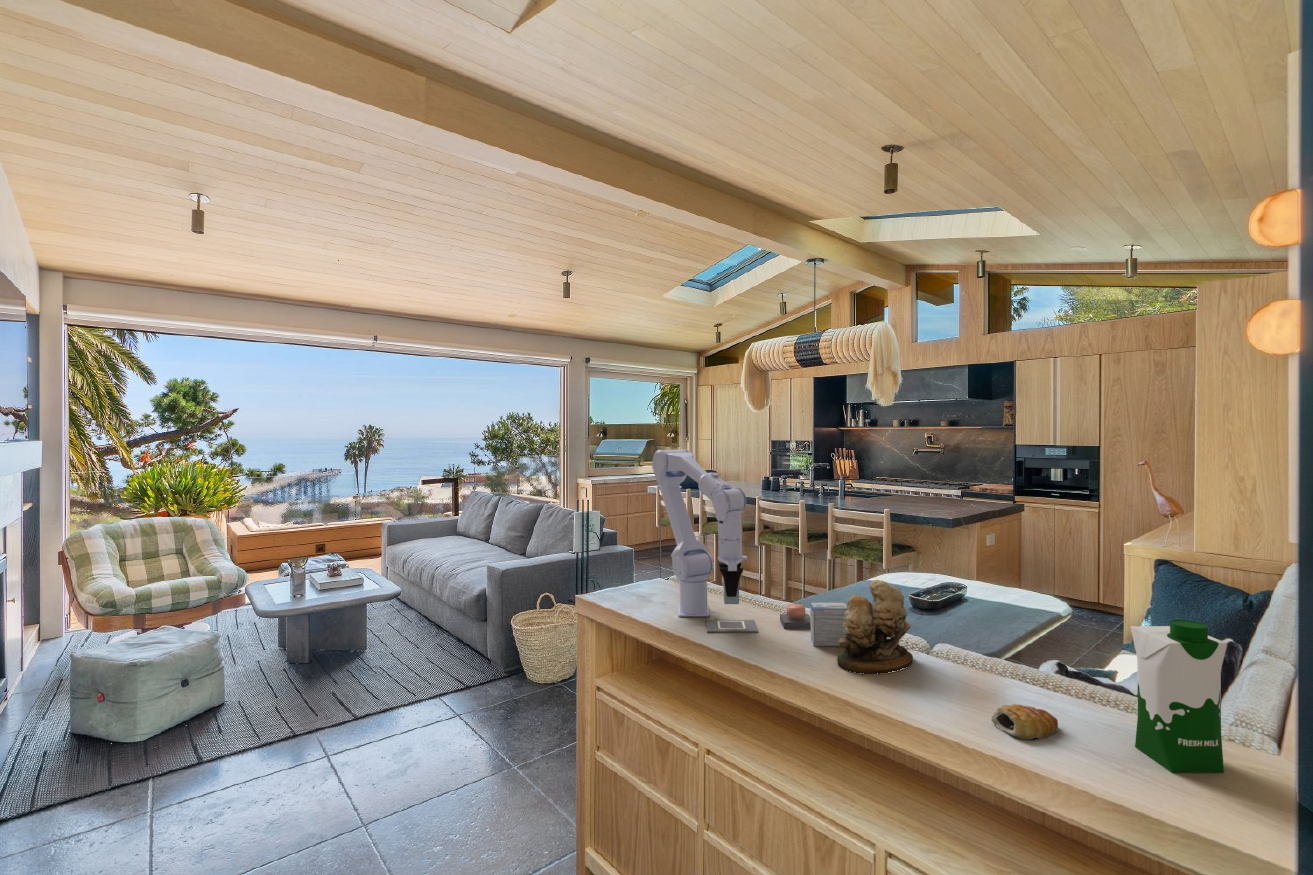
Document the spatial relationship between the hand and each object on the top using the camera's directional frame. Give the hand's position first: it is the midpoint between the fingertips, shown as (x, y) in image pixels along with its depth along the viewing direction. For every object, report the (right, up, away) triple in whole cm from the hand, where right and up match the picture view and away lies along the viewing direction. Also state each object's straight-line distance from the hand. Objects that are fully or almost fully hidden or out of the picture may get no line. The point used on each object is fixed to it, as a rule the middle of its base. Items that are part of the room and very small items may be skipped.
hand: (730, 594), depth 154 cm
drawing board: (0, -8, 0) cm, 8 cm away
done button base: (+16, -8, +1) cm, 18 cm away
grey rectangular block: (0, -2, 0) cm, 2 cm away
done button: (+16, -5, +1) cm, 17 cm away
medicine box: (+20, -8, -13) cm, 26 cm away
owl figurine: (+27, -8, -24) cm, 37 cm away
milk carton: (+56, -8, -64) cm, 85 cm away
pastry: (+40, -8, -54) cm, 68 cm away
